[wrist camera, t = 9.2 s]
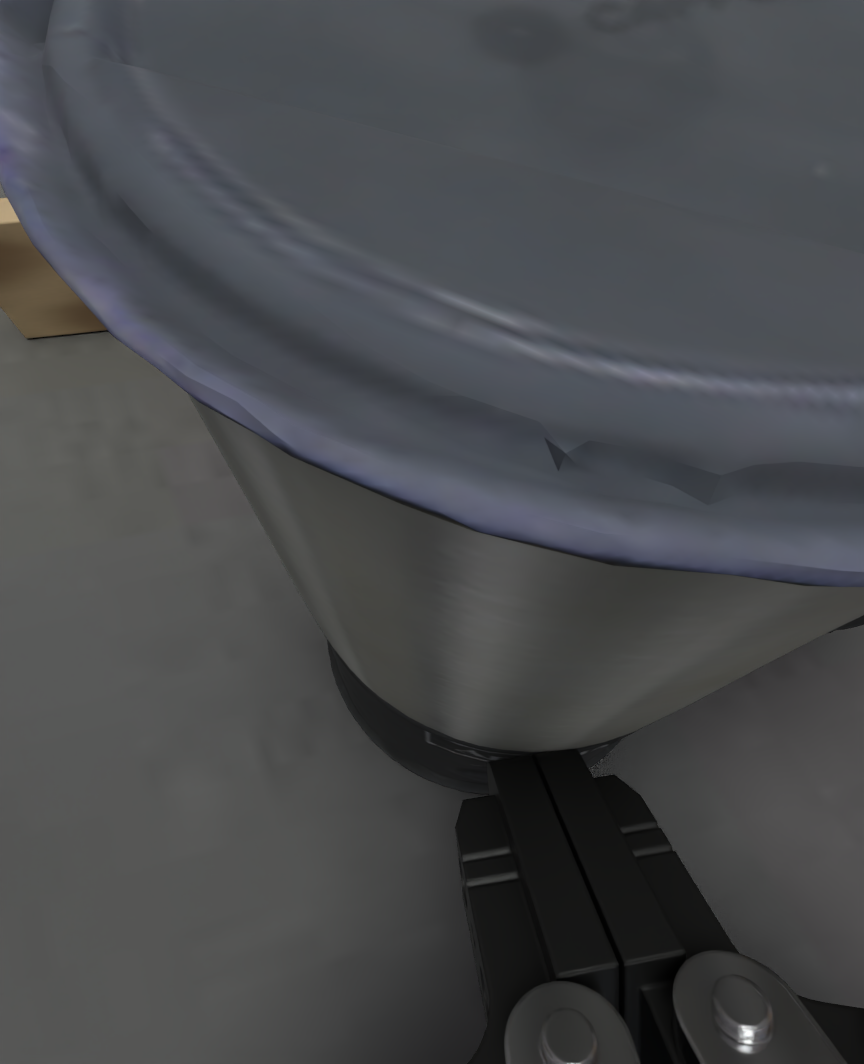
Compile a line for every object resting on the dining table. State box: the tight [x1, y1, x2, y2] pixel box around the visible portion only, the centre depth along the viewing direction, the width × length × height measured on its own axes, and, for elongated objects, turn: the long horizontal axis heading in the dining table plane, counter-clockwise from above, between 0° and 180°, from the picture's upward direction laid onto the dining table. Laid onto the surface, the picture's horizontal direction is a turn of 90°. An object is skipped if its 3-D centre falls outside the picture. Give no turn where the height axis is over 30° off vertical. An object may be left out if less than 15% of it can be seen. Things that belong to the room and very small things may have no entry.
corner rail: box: [0, 198, 107, 338], centre depth 18 cm, size 26×15×5 cm, turn 99°
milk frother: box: [0, 0, 864, 794], centre depth 12 cm, size 14×16×15 cm
